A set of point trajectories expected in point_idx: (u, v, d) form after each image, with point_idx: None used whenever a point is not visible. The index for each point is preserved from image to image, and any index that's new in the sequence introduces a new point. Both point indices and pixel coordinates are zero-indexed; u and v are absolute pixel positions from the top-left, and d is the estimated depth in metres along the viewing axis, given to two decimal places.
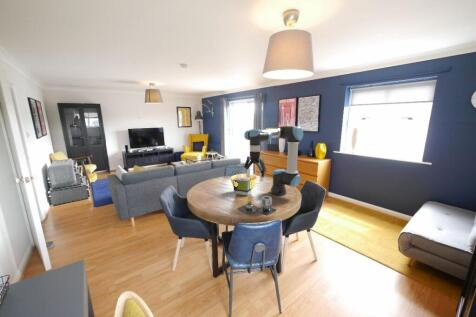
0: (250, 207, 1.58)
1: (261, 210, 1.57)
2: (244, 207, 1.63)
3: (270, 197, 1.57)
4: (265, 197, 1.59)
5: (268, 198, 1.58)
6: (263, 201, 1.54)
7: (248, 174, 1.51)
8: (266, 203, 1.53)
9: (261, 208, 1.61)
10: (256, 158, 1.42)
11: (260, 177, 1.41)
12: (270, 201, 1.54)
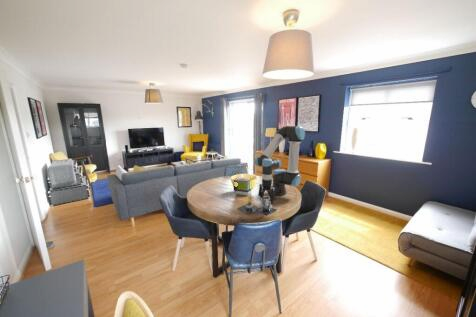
0: (250, 207, 1.58)
1: (261, 210, 1.57)
2: (244, 207, 1.63)
3: None
4: (265, 197, 1.59)
5: (268, 198, 1.58)
6: (263, 201, 1.54)
7: None
8: (266, 203, 1.53)
9: (261, 208, 1.61)
10: (268, 186, 1.52)
11: (269, 204, 1.53)
12: None
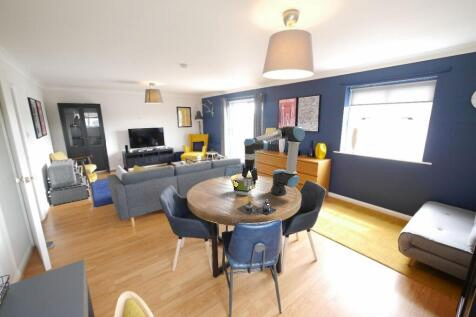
0: (250, 207, 1.58)
1: (261, 210, 1.57)
2: (244, 207, 1.63)
3: None
4: (248, 178, 1.58)
5: (251, 179, 1.57)
6: (246, 181, 1.53)
7: None
8: (249, 183, 1.53)
9: (261, 208, 1.61)
10: (251, 165, 1.51)
11: (252, 185, 1.53)
12: None
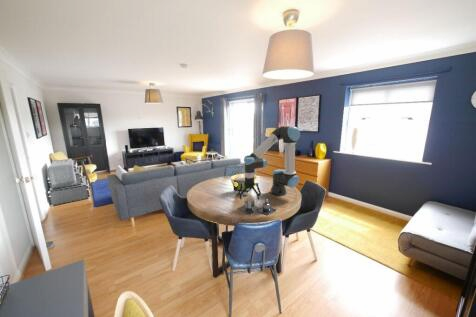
0: (250, 207, 1.58)
1: (261, 210, 1.57)
2: (244, 207, 1.63)
3: (251, 197, 1.62)
4: (247, 199, 1.61)
5: None
6: (249, 203, 1.56)
7: (242, 200, 1.60)
8: (252, 204, 1.57)
9: (261, 208, 1.61)
10: (252, 183, 1.56)
11: None
12: None
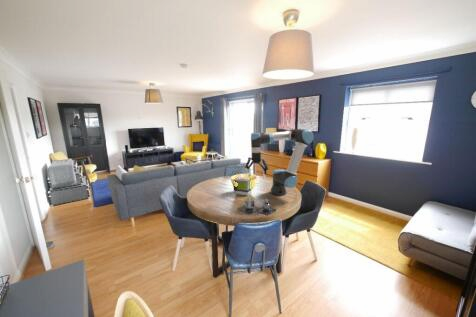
0: (250, 207, 1.58)
1: (261, 210, 1.57)
2: (244, 207, 1.63)
3: (251, 197, 1.62)
4: (247, 199, 1.61)
5: None
6: (249, 203, 1.56)
7: (249, 173, 1.68)
8: (252, 204, 1.57)
9: (261, 208, 1.61)
10: (258, 158, 1.60)
11: (263, 174, 1.61)
12: None
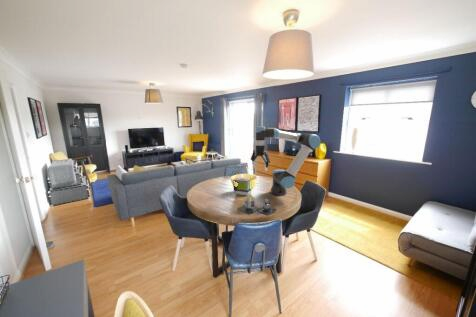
0: (250, 207, 1.58)
1: (261, 210, 1.57)
2: (244, 207, 1.63)
3: (251, 197, 1.62)
4: (247, 199, 1.61)
5: None
6: (249, 203, 1.56)
7: (254, 165, 1.75)
8: (252, 204, 1.57)
9: (261, 208, 1.61)
10: (261, 151, 1.65)
11: (265, 167, 1.65)
12: None
